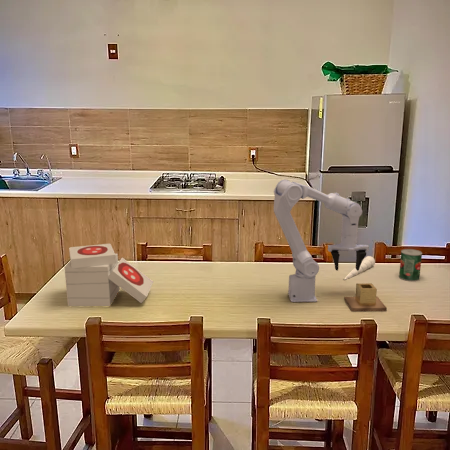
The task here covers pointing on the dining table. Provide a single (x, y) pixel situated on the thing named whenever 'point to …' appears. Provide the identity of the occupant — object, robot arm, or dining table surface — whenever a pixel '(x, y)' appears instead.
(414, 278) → the canned tomato
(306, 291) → the robot arm
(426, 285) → the dining table surface
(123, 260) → the pizza boxes
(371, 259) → the unicorn horn
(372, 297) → the brass collar
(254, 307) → the dining table surface
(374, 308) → the post stand
